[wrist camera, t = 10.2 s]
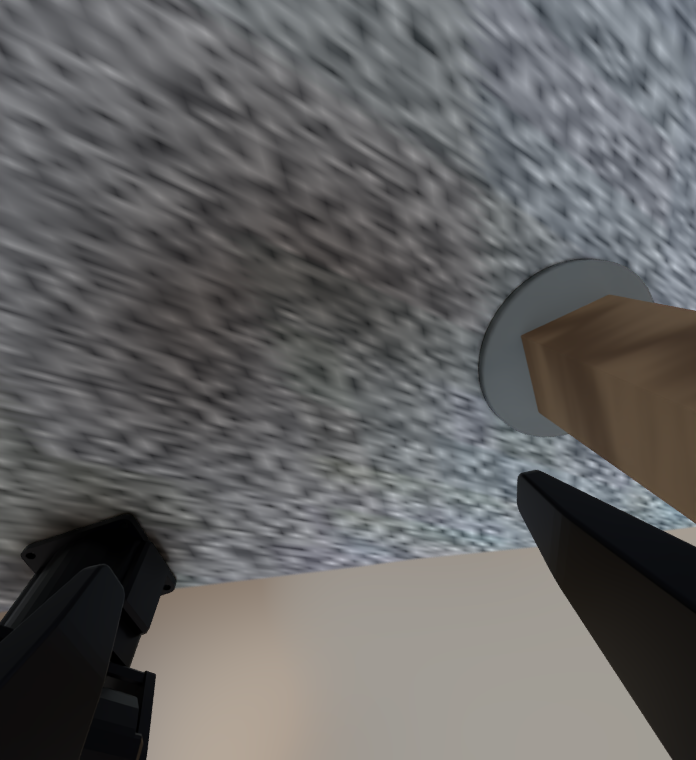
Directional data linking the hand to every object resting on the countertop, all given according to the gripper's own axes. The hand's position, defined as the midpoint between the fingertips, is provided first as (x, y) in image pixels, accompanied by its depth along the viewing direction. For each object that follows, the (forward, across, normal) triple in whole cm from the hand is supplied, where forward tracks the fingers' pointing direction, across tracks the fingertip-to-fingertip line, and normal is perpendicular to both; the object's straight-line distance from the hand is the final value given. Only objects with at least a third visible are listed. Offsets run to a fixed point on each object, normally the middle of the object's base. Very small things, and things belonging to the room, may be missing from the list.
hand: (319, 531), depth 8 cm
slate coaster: (+14, -15, +4) cm, 21 cm away
